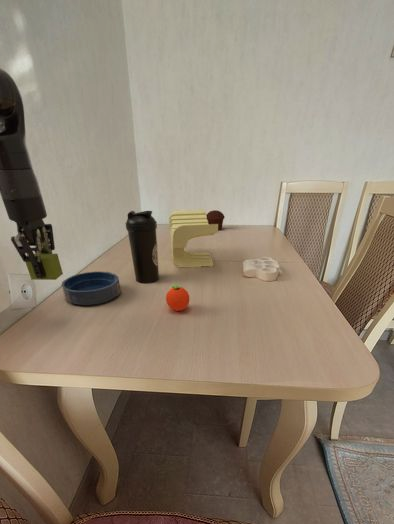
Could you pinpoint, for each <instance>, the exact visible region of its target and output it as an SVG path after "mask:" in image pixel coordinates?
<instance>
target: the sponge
mask: <svg viewBox="0 0 394 524" xmlns="http://www.w3.org/2000/svg"><path fill="white" fill-rule="evenodd" d="M34 255H35V253H34ZM40 255H41V261H42V263H43V266H44V269H45V273H46V277H45V278H37V277H36V275H35V273H34V270H33V267H32V264H31V262H25V266H26V268H27V271H28V273H29V276H30V279H31V280H34V281H35V280H36V281H37V280H39V281H40V280H41V281H43V280H45V281H47V280H48V281H56V280H58V279H59V278H60V277H61V276H62V275H63V274H64V273H63V268H62V265H61V262H60V258H59V254H58V253H52V254H40ZM35 256H36V255H35Z"/></svg>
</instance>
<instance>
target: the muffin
mask: <svg viewBox="0 0 394 524" xmlns="http://www.w3.org/2000/svg"><path fill="white" fill-rule="evenodd" d="M206 216H207V220H208V224H218V232H219V231H222V229H223V224H224V220H225V214H224V213H223V212H221V211H220V210H210V211H209V212H207V213H206Z"/></svg>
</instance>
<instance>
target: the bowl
mask: <svg viewBox="0 0 394 524" xmlns="http://www.w3.org/2000/svg"><path fill="white" fill-rule="evenodd" d="M119 278H120V277H119V276H118V275H117V274H116V273H113V272H110V271H87V272H82V273H81V272H80V273H78V274H74V275H72V276H69V277H67V278H65V279H64V280H63V281H61V285H60V287H61V291H62V293H63V297H64V299H65V301H67V302H69V303H70V304H73V305H78V306H79V305H80V306H95V305H101V304H104V303H108V302H111V300H113V299H115V298H116V297H117V296H119V295H120V293H122V292H121V283H120V279H119Z"/></svg>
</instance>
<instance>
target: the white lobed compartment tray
mask: <svg viewBox="0 0 394 524" xmlns="http://www.w3.org/2000/svg"><path fill="white" fill-rule="evenodd" d="M280 267H282V265H280V264H279V262H278V261H277V260H274V258H273V257H269V256H260V257H258V258H255V259H254V258H253V259H246V260H244V261H242V271H243V275H244V276H245V277H247V278H253V279H254V278H256V279H259V280H260V281H263V282H274V281H276V280H277V278H278V277H279V274H281V273H283V272H284V271H283V270H282V269H280Z"/></svg>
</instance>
